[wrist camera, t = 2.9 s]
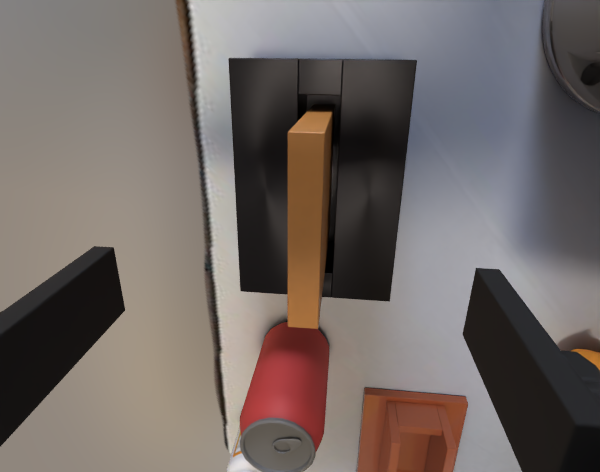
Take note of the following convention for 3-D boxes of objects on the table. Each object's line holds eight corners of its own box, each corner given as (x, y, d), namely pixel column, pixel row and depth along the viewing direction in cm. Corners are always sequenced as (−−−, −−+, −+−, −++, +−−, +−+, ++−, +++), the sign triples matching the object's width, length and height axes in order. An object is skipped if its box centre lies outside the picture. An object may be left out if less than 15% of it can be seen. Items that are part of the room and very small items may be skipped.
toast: (335, 104, 30) (325, 132, 17) (329, 230, 34) (318, 329, 21) (313, 104, 30) (287, 131, 17) (310, 229, 34) (287, 327, 21)
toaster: (402, 61, 29) (417, 60, 23) (381, 271, 36) (388, 315, 30) (253, 60, 31) (228, 57, 24) (259, 264, 37) (241, 305, 31)
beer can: (341, 359, 40) (338, 469, 29) (284, 380, 42) (261, 490, 31) (310, 308, 38) (294, 404, 27) (251, 331, 40) (215, 431, 29)
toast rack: (465, 396, 40) (484, 448, 35) (443, 497, 46) (456, 556, 41) (364, 387, 41) (367, 436, 36) (354, 487, 47) (355, 543, 42)
